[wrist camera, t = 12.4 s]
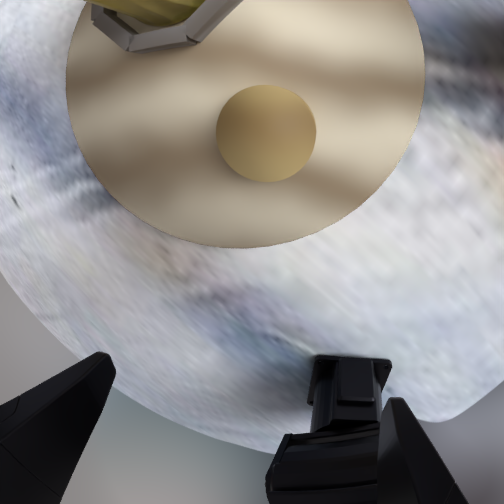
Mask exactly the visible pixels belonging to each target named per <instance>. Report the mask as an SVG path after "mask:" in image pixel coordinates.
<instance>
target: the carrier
mask: <svg viewBox="0 0 504 504" xmlns="http://www.w3.org/2000/svg"><path fill="white" fill-rule="evenodd" d="M424 85H425V62H424V50H423V45H422V41H421V36H420V32H419V28H418V24H417V22H416V19H415V17H414V14H413V12H412V10H411V7H410V5H409V3H408V1H407V0H206V1H205V2H204V3H203V4H202V5H201V6H200V7H199V8H198V9H197V10H196V11H195V12H194V13H193V14H192V15H191V16H190V17H189V18H187V19H185V20H183V21H181V22H178V23H175V24H172V25H167V26H151V25H146V24H144V23H141V22H140V21H138V20H137V19H135V18H133V17H130V16H128V15H125V14H122V13H119V12H116V11H114V10H111V9H108V8H105V7H102V6H99V5H96V4H93V3H90V2H87V3H86V4H85V6H84V8H83V10H82V12H81V14H80V17H79V19H78V22H77V24H76V27H75V30H74V32H73V36H72V40H71V44H70V48H69V52H68V59H67V67H66V97H67V106H68V112H69V117H70V121H71V125H72V129H73V132H74V135H75V137H76V140H77V143H78V145H79V148H80V150H81V152H82V154H83V156H84V158H85V160H86V162H87V164H88V165H89V167H90V168H91V170H92V171H93V173H94V174H95V176H96V177H97V179H98V180H99V181H100V183H101V184H102V185H103V186H104V187H105V188H106V190H107V191H108V192H109V193H110V194H111V195H112V196H113V197H114V198H115V199H116V200H117V201H118V202H119V203H120V204H121V205H122V206H124V207H125V208H126V209H127V210H128V211H130V212H131V213H133V214H134V215H135V216H137V217H138V218H139V219H141V220H142V221H144V222H146V223H147V224H149V225H151V226H153V227H155V228H157V229H158V230H160V231H162V232H165V233H167V234H170V235H172V236H175V237H177V238H180V239H183V240H186V241H190V242H194V243H197V244H201V245H207V246H214V247H221V248H256V247H267V246H273V245H277V244H282V243H286V242H291V241H294V240H297V239H300V238H303V237H305V236H308V235H311V234H314V233H316V232H318V231H320V230H322V229H324V228H326V227H328V226H330V225H332V224H334V223H336V222H338V221H339V220H341V219H342V218H343V217H345V216H346V215H348V214H349V213H351V212H352V211H354V210H355V209H357V208H358V207H359V206H360V205H361V204H362V203H364V202H365V201H366V200H367V199H368V198H369V197H370V196H371V195H372V194H373V193H375V192H376V191H377V190H378V188H379V187H380V186H381V185H382V184H383V182H384V181H385V180H386V179H387V178H388V176H389V175H390V174H391V173H392V172H393V170H394V169H395V167H396V166H397V164H398V162H399V161H400V159H401V157H402V156H403V154H404V152H405V151H406V149H407V147H408V145H409V142H410V140H411V138H412V135H413V133H414V131H415V128H416V126H417V122H418V118H419V115H420V111H421V107H422V102H423V95H424Z"/></svg>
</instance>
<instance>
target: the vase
mask: <svg viewBox="0 0 504 504" xmlns="http://www.w3.org/2000/svg"><path fill="white" fill-rule="evenodd" d="M84 1H87V2H90V3H93V4H96V5H99V6H102V7H105V8H108V9H111V10H114V11H116V12H119V13H122V14H125V15H128V16H130V17H133V18H135V19H137V20H138V21H140V22H141V23H144V24H146V25H151V26H167V25H172V24H175V23H178V22H181V21H183V20H185V19H187V18H189V17H190V16H191V15H192V14H193V13H194V12H195V11H196V10H197V9H198V8H199V7H200V6H201V5H202V4H203V3H204V2H205V1H206V0H84Z"/></svg>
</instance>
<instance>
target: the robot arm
mask: <svg viewBox="0 0 504 504" xmlns="http://www.w3.org/2000/svg"><path fill="white" fill-rule="evenodd" d="M320 361H322V362H320ZM385 365H387V366H385ZM391 368H392V362H391V361H390V360H384V359H364V358H349V357H335V356H323V355H319V356H317V357H315V361H314V366H313V372H312V378H311V383H310V389H309V394H308V399H307V403H308V404H309V405H312V406H313V411H312V419H311V428H310V433H302V434H292V433H291V434H285V435H284V437H283V439H282V441H281V443H280V446H279V448H278V450H277V452H276V454H275V457H274V459H273V461H272V463H271V465H270V468H269V470H268V472H267V474H266V477H265V480H266V482H265V487H266V493H267V498H268V501H269V503H270V504H469V503H468V501H467V499H466V498H465V496H464V495H463V493H462V492H461V490H460V488H459V486H458V485H457V483H455V480H454V478H453V477H452V475H451V473H450V472H449V470H448V468H447V467H446V465H445V463H444V462H443V460H442V458H441V457H440V456H439V454H438V452H437V451H436V449H435V447H434V446H433V444H432V442H431V441H430V439H429V438H428V436H427V434H426V433H425V432H424V430H423V428H422V427H421V425H420V424H419V422H418V420H417V419H416V417H415V416H414V414H413V413H412V411H411V409H410V408H409V406H408V405H407V403H406V402H405V400H404V399H403V398H401V397H390V398H389V399H388V401H387V403H386V405H385V407H384V409H383V411H382V398H381V393H382V390H383V388H384V386H385V383H386V381H387V378H388V376H389V373H390V371H391ZM115 376H116V369H115V367H114V364H113V362H112V359H111V357H110V355H109V354H107V353H104V352H100V351H99V352H96V353H94V354H92V355H91V356H89V357H87V358H85V359H83V360H82V361H80V362H78V363H76V364H75V365H73V366H71V367H69V368H68V369H66V370H64V371H62V372H60V373H59V374H57V375H55V376H53V377H51V378H50V379H48V380H46V381H44V382H43V383H41V384H39V385H38V386H36V387H34V388H32V389H30V390H28V391H26V392H25V393H23V394H21V395H20V396H17V397H16V398H14V399H12V400H10V401H8V402H6V403H4V404H2V405H0V504H60V502H61V500H62V497H63V494H64V492H65V490H66V488H67V485H68V483H69V481H70V479H71V476H72V474H73V472H74V470H75V467H76V465H77V463H78V461H79V459H80V457H81V454H82V452H83V450H84V448H85V446H86V444H87V442H88V440H89V438H90V435H91V433H92V431H93V429H94V427H95V425H96V423H97V421H98V419H99V417H100V415H101V413H102V410H103V408H104V406H105V403H106V400H107V397H108V395H109V392H110V389H111V387H112V384H113V381H114V379H115Z"/></svg>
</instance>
